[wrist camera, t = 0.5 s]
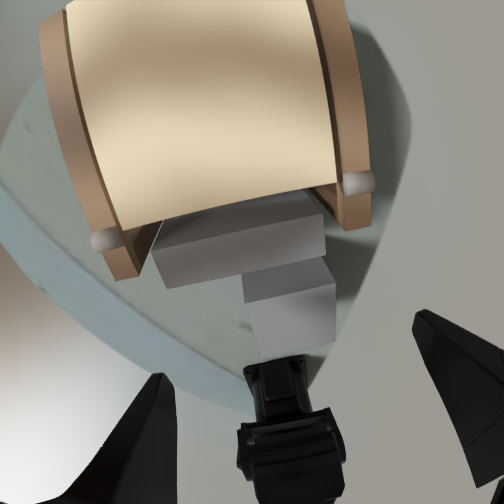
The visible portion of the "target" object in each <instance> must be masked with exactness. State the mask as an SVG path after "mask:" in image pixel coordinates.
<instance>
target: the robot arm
mask: <svg viewBox="0 0 504 504" xmlns="http://www.w3.org/2000/svg"><path fill="white" fill-rule="evenodd" d="M412 333H413V336H414V338H415V340H416V343H417V345H418V348H419V350H420V353H421V355H422V358H423V360H424V363H425V365H426V368H427V370H428V372H429V374H430V376H431V378H432V380H433V382H434V384H435V386H436V388H437V390H438V392H439V394H440V396H441V398H442V400H443V403H444V405H445V407H446V409H447V412H448V414H449V416H450V418H451V420H452V423H453V425H454V427H455V430H456V432H457V435H458V437H459V440H460V443H461V445H462V448H463V449H464V453H465V456H466V459H467V462H468V464H469V467H470V470H471V473H472V476H473V479H474V482H475V485H476V488H479V487H481V486H483V485H485V484H487V483H489V482H491V481H493V480H495V479H497V478H498V477H500V476H502V475H504V350H503V349H501V348H500V349H499V348H498V347H497V346H495V345H493V344H492V343H489V342H488V341H486V340H484V339H482V338H480V337H479V336H477V335H475V334H473V333H471V332H469V331H467V330H465V329H464V328H462V327H460V326H458V325H456V324H454V323H452V322H451V321H449V320H447V319H445V318H443V317H441V316H439V315H437V314H435V313H433V312H431V311H429V310H427V309H423V310H421V311H418V312H417V313H416V314H415V318H414V322H413V326H412ZM243 374H244V376H245V379H246V381H247V383H248V386H249V388H250V391H251V393H252V395H253V398H254V406H255V414H256V422H253V423H241V429H239V430H237V436H238V452H237V468H239V469H240V470H241V471H243V474H244V475H245V478H246V480H247V481H253V483H254V488H255V494H256V498H257V500H258V502H259V504H334V502H335V500H336V498H337V497H341V495H342V493H343V490H344V487H345V483H344V477H343V472H342V465H341V464H343V463H345V461H346V451H345V446H344V442H343V439H342V436H341V433H340V431H339V428H338V426H337V424H336V421H335V419H334V417H333V414H332V412H331V410H330V408H329V407H328V408H324V409H323V410H319V411H315V412H313V410H312V406H311V402H310V399H309V395H308V391H307V387H308V384H307V371H306V360H305V357H304V356H297V357H293V358H288V359H284V360H279V361H275V362H270V363H265V364H260V365H255V366H249V367H245V368H244V369H243ZM253 442H254V444H253ZM0 504H6V503H4V502H0ZM37 504H177V416H176V403H175V391H174V386H173V384H172V383H171V382H170V380H169V379H168V378H167V376H166V375H165V374H164V373H162V372H161V373H153V374H152V375H151V376H150V378H149V379H148V380H147V382H146V383H145V385H144V386H143V388H142V389H141V390H140V392H139V393H138V395H137V396H136V397H135V399H134V400H133V402H132V403H131V405H130V406H129V407H128V409H127V410H126V412H125V413H124V415H123V416H122V418H121V419H120V420H119V422H118V423H117V425H116V426H115V428H114V429H113V431H112V432H111V433H110V435H109V436H108V438H107V439H106V441H105V442H104V444H103V447H101V448H100V449H99V451H98V452H97V454H96V455H95V456H94V458H93V459H92V461H91V462H90V463H89V465H88V466H87V467H86V468H85V470H84V471H83V472H82V473H81V474H80V476H79V477H78V478H77V479H76V480H75V481H74V482H73V483H72V485H71V486H70V487H69V488H68V489H67V490H66V491H65V492H64V493H63V494H62V495H60V496H59V497H56V498H54V499H51V500H48V501H44V502H41V503H37ZM490 504H504V477H503V478H502V479H500V480H499V482H498V485H497V488H496V491H495V493H494V496H493V498H492V501H491V503H490Z"/></svg>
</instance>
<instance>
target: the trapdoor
mask: <svg viewBox="0 0 504 504" xmlns="http://www.w3.org/2000/svg"><path fill="white" fill-rule="evenodd" d="M66 10H67V22H68V31H69V39H70V46H71V53H72V59H73V65H74V70H75V76H76V81H77V86H78V90H79V95H80V99H81V103H82V108H83V112H84V116H85V120H86V123H87V127H88V131H89V134H90V138H91V141H92V145H93V148H94V151H95V155H96V158H97V161H98V164H99V167H100V170H101V173H102V176H103V179H104V182H105V185H106V188H107V190H108V193H109V196H110V199H111V201H112V204H113V207H114V209H115V212H116V214H117V217H118V220H119V222H120V225H121V227H122V229H123V231H124V230H128V229H131V228H135V227H138V226H142V225H146V224H149V223H153V222H157V221H161V220H164V222H163V224H162V226H161V228H160V231H159V233H158V235H157V237H156V240H155V242H154V244H153V247H152V249H151V254H152V256H153V259H154V261H155V263H156V266H157V268H158V270H159V273H160V275H161V277H162V279H163V282H164V284H165V286H166V288H167V289H170V288H175V287H180V286H185V285H190V284H194V283H199V282H204V281H209V280H214V279H219V278H224V277H228V276H233V275H238V274H242V273H247V272H252V271H256V270H261V269H266V268H270V267H275V266H279V265H284V264H288V263H293V262H297V261H302V260H306V259H311V258H315V257H319V256H324V255H326V246H325V231H324V218H323V213H322V211H321V210H320V209H319V208H318V207H317V205H316V204H315V203H314V202H313V201H312V200H311V198H310V197H309V196H308V195H307V194H306V192H305V191H304V190H303V188H308V187H314V186H319V185H325V184H331V183H337V176H336V165H335V155H334V146H333V138H332V130H331V122H330V115H329V108H328V102H327V96H326V90H325V84H324V78H323V73H322V68H321V63H320V58H319V53H318V48H317V44H316V39H315V35H314V31H313V26H312V22H311V18H310V14H309V11H308V7H307V3H306V0H75V1H73V2H71V3H69V4H68V5H66Z"/></svg>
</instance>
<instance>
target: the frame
mask: <svg viewBox="0 0 504 504" xmlns="http://www.w3.org/2000/svg"><path fill="white" fill-rule="evenodd" d="M306 3H307V7H308V11H309V14H310V18H311V22H312V26H313V31H314V35H315V39H316V44H317V48H318V53H319V58H320V63H321V68H322V73H323V78H324V84H325V90H326V96H327V102H328V108H329V115H330V122H331V130H332V138H333V146H334V155H335V165H336V176H337V183H331V184H325V185H319V186H314V187H308V189H309V190H310V191H311V192H312V194H313V195H314V196H315V197H316V198H317V199H318V200H319V201H320V202H321V203H322V205H323V206H324V207H325V208H326V209H327V210H328V211H329V213H330V214H331V215H332V216H333V217H334V218H335V219H336V221H337V222H338V223H339V224H340V225H341V226H342V228H343V229H344V230H345V231H350V230H354V229H359V228H363V227H368V226H371V192H374V191H375V189H376V180H375V176H374V174H373V172H372V171H371V170H370V159H369V144H368V132H367V122H366V113H365V105H364V97H363V90H362V84H361V77H360V71H359V66H358V60H357V55H356V50H355V45H354V41H353V36H352V32H351V28H350V24H349V20H348V16H347V12H346V8H345V5H344V1H343V0H306ZM39 38H40V48H41V57H42V64H43V71H44V77H45V83H46V88H47V93H48V98H49V103H50V108H51V112H52V116H53V120H54V124H55V128H56V132H57V135H58V139H59V143H60V146H61V149H62V153H63V156H64V159H65V162H66V165H67V168H68V171H69V174H70V177H71V180H72V183H73V186H74V188H75V191H76V194H77V196H78V199H79V202H80V204H81V207H82V209H83V212H84V214H85V217H86V219H87V221H88V224H89V226H90V228H91V231H92V234H91V244H92V247H93V249H94V251H95V252H97V253H102V255H103V257H104V259H105V261H106V263H107V265H108V267H109V269H110V271H111V273H112V275H113V277H114V279H115V281H119V280H124V279H128V278H133V277H138V276H139V275H140V272H141V270H142V267H143V265H144V262H145V260H146V257H147V255H148V253H149V250H150V248H151V246H152V243H153V241H154V239H155V237H156V234H157V232H158V230H159V228H160V225H161V223H162V221H163V220H161V221H157V222H153V223H149V224H146V225H142V226H138V227H135V228H131V229H128V230H124V231H123V229H122V227H121V225H120V222H119V220H118V217H117V214H116V212H115V209H114V207H113V204H112V201H111V199H110V196H109V193H108V190H107V188H106V185H105V182H104V179H103V176H102V173H101V170H100V167H99V164H98V161H97V158H96V155H95V151H94V148H93V145H92V141H91V138H90V134H89V131H88V127H87V123H86V120H85V116H84V112H83V108H82V103H81V99H80V95H79V90H78V86H77V81H76V76H75V70H74V65H73V59H72V53H71V46H70V39H69V31H68V22H67V11H65V10H63V9H61V10H60V11H58V12H57V13H55V14H53V15H52V16H50V17H49V18H47V19H46V20H44V21H43V22H41V23H40V24H39Z"/></svg>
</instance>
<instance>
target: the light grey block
mask: <svg viewBox="0 0 504 504" xmlns="http://www.w3.org/2000/svg"><path fill="white" fill-rule="evenodd" d="M242 283H243V292H244V301H245V306H246V309H247V313H248V316H249V320H250V323H251V327H252V330H253V334H254V337H255V340H256V344H257V347H258V351H259V354H260V357H261V358H266V357H271V356H276V355H281V354H285V353H290V352H294V351H298V350H302V349H307V348H311V347H315V346H318V345H322V344H326V343H330V342H333V341H335V337H336V282H335V280H334V278H333V276H332V274H331V273H330V271H329V269H328V267H327V265H326V264H325V262H324V260H323V258H322V257H321V256H319V257H315V258H311V259H306V260H302V261H297V262H293V263H288V264H284V265H279V266H275V267H270V268H266V269H261V270H256V271H252V272H247V273H242Z"/></svg>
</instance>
